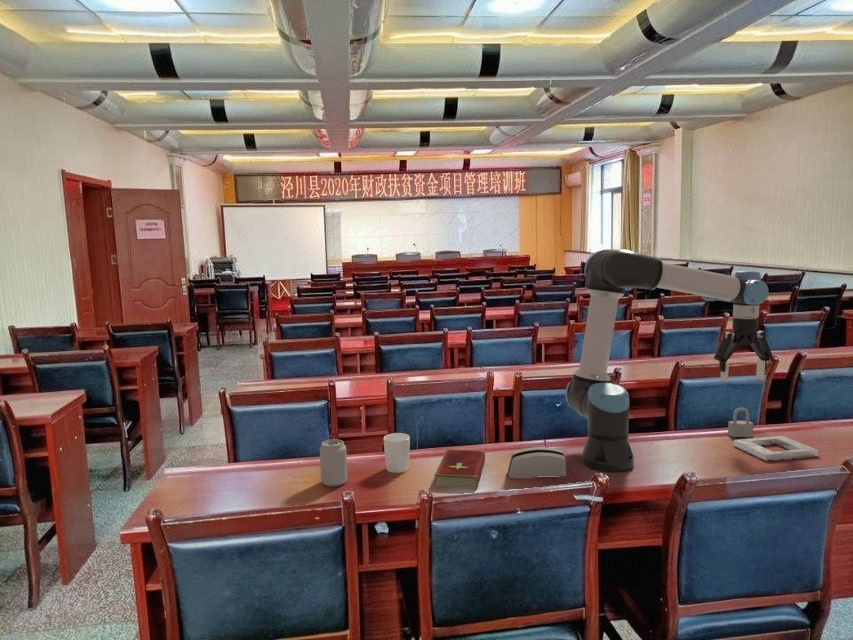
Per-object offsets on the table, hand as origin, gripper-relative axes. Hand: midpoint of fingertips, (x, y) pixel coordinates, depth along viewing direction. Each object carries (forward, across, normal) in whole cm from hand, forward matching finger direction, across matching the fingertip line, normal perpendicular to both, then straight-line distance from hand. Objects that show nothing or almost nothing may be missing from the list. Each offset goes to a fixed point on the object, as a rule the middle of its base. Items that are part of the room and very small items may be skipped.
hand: (742, 380), depth 193 cm
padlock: (+20, 0, 0) cm, 20 cm away
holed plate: (+19, 0, -15) cm, 25 cm away
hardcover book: (+22, -100, -10) cm, 102 cm away
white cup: (+21, -118, -2) cm, 119 cm away
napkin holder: (+21, -79, -17) cm, 83 cm away
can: (+22, -136, -8) cm, 138 cm away
